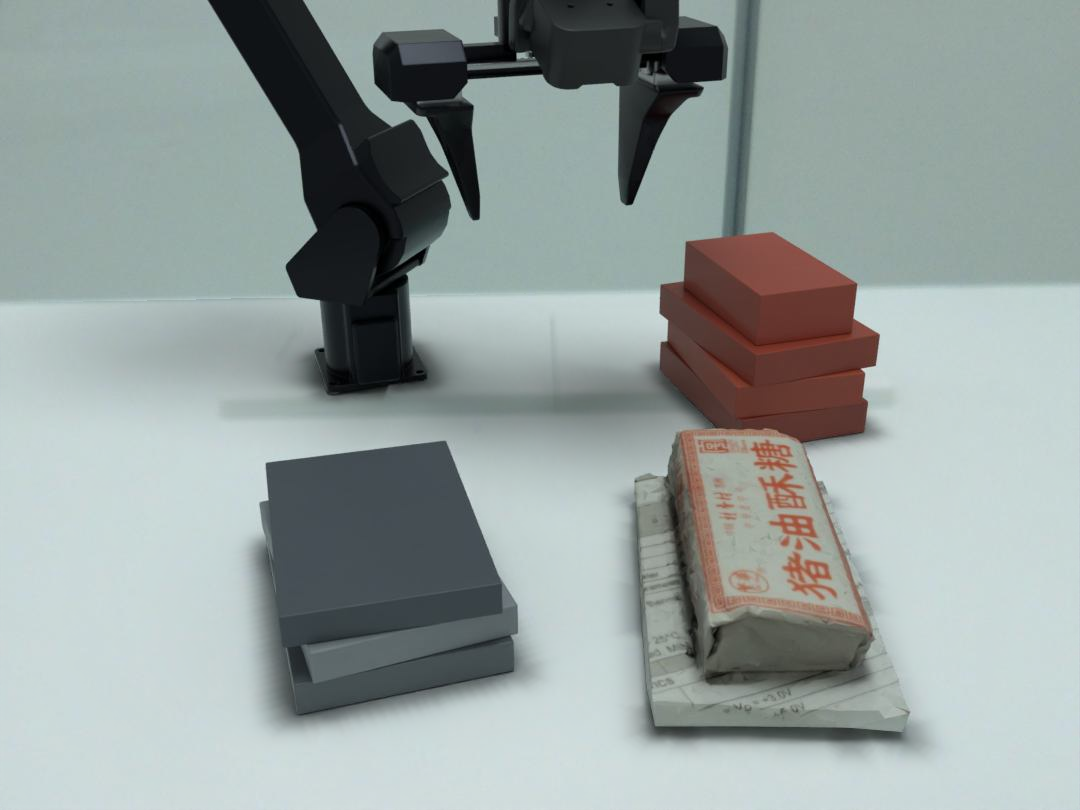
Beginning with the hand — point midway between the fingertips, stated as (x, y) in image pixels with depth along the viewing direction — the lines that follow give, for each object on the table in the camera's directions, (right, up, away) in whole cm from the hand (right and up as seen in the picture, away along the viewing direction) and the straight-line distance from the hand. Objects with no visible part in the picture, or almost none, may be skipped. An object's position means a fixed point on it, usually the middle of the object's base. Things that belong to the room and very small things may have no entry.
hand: (551, 211), depth 66 cm
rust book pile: (+13, -11, +5) cm, 17 cm away
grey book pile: (-8, -20, -14) cm, 26 cm away
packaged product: (+9, -20, -14) cm, 26 cm away
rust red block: (+13, -5, +2) cm, 14 cm away
